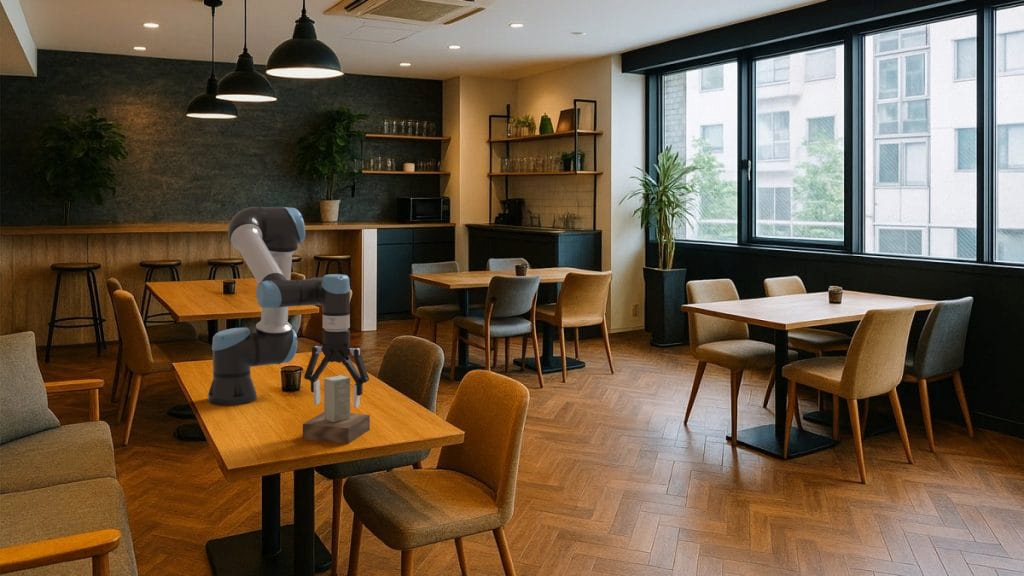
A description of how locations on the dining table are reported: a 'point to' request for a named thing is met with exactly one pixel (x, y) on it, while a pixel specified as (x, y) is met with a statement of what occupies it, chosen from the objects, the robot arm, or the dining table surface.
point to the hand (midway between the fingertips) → (336, 405)
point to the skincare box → (337, 398)
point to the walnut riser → (336, 428)
